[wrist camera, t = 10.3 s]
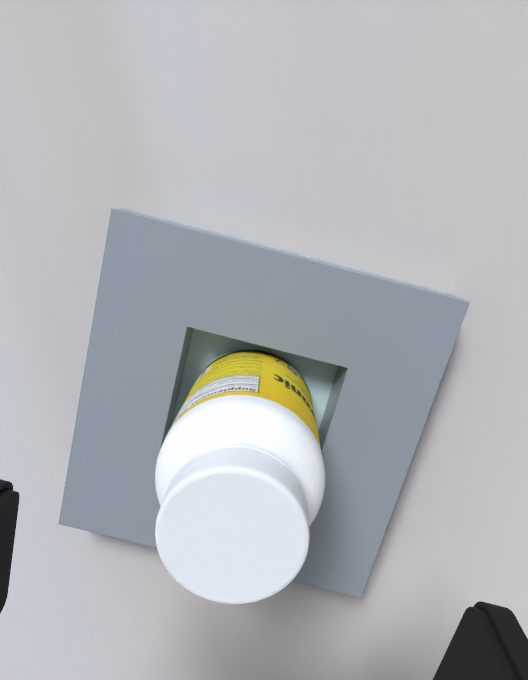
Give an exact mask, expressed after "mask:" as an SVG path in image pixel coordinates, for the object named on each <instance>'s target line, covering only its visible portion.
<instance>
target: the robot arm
mask: <svg viewBox="0 0 528 680" xmlns="http://www.w3.org/2000/svg"><path fill="white" fill-rule="evenodd" d="M18 505H19V493H18V492H16V491H13V485H12V483H11V482H8V481H4V480H0V613H1V611H2V609H3V607H4V604H5V602H6V599H7V594H8V586H9V578H10V569H11V561H12V553H13V545H14V537H15V529H16V521H17V513H18ZM433 680H528V639H527V637H526V635H525V634H524V632H523V630H522V628H521V626H520V624H519V623H518V621H517V619H516V617H515V615H514V614H513V613H512V611H511V610H509V609H508V608H505V607H501V606H497V605H493V604H489V603H485V602H478V603H476V604H475V606H474V607H469V608H467V609H466V611H465V613H464V615H463V617H462V619H461V621H460V623H459V625H458V627H457V630H456V632H455V634H454V636H453V638H452V640H451V642H450V644H449V647H448V649H447V651H446V653H445V655H444V657H443V659H442V661H441V664H440V666H439V668H438V670H437V672H436V674H435V676H434V678H433Z"/></svg>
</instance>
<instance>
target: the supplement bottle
mask: <svg viewBox="0 0 528 680" xmlns="http://www.w3.org/2000/svg"><path fill="white" fill-rule="evenodd" d="M155 487H156V492H157V497H158V500H159V504H160V506H161V507H160V509H159V512H158V515H157V519H156V527H155V538H156V545H157V549H158V553H159V556H160V558H161V560H162V562H163V564H164V566H165V568H166V569H167V570H168V572H169V573H170V574H171V576H172V577H173V578H174V579H175V580H176V581H177V582H178V583H179V584H181V585H182V586H183V587H184V588H185V589H187V590H189V591H190V592H192V593H194V594H195V595H197V596H200V597H202V598H205V599H207V600H210V601H214V602H219V603H225V604H244V603H252V602H256V601H260V600H262V599H265V598H268V597H270V596H272V595H274V594H276V593H277V592H279V591H280V590H282V589H283V588H284V587H286V586H287V585H288V584H289V583H290V582H291V581H292V580H293V579H294V578H295V576H296V575H297V574H298V573H299V571H300V569H301V567H302V566H303V564H304V562H305V559H306V556H307V553H308V548H309V539H310V531H309V526H310V525H311V524H312V522H313V520H314V519H315V517H316V515H317V513H318V511H319V509H320V506H321V503H322V500H323V496H324V490H325V466H324V459H323V454H322V448H321V445H320V440H319V435H318V430H317V424H316V419H315V414H314V409H313V404H312V399H311V395H310V391H309V388H308V386H307V383H306V381H305V379H304V377H303V376H302V374H301V373H300V372H299V370H298V369H297V368H296V367H295V366H294V365H293V364H292V363H291V362H289V361H288V360H287V359H285V358H284V357H282V356H281V355H279V354H276V353H274V352H272V351H268V350H265V349H258V348H243V349H237V350H233V351H230V352H228V353H225V354H223V355H221V356H219V357H218V358H216V359H215V360H213V361H212V362H211V363H210V364H208V365H207V367H206V368H205V369H204V370H203V371H202V372H201V374H200V375H199V377H198V378H197V380H196V382H195V383H194V385H193V387H192V389H191V391H190V393H189V395H188V397H187V399H186V400H185V402H184V404H183V406H182V408H181V410H180V411H179V413H178V415H177V417H176V419H175V421H174V423H173V425H172V427H171V428H170V430H169V432H168V434H167V436H166V438H165V440H164V442H163V444H162V447H161V449H160V452H159V455H158V458H157V463H156V469H155Z"/></svg>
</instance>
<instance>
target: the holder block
mask: <svg viewBox="0 0 528 680" xmlns="http://www.w3.org/2000/svg"><path fill="white" fill-rule="evenodd" d="M469 303H470V302H467V301H465V300H463V299H460V298H458V297H456V296H454V295H451V294H449V293H446V292H442V291H438V290H434V289H431V288H427V287H423V286H419V285H415V284H412V283H408V282H404V281H400V280H396V279H393V278H389V277H385V276H381V275H377V274H373V273H370V272H366V271H362V270H358V269H354V268H351V267H347V266H343V265H339V264H335V263H332V262H328V261H324V260H320V259H316V258H313V257H309V256H305V255H301V254H297V253H293V252H290V251H286V250H282V249H278V248H274V247H271V246H267V245H263V244H259V243H255V242H252V241H248V240H244V239H240V238H236V237H232V236H229V235H225V234H221V233H217V232H213V231H210V230H206V229H202V228H198V227H194V226H191V225H187V224H183V223H179V222H175V221H172V220H168V219H164V218H160V217H156V216H152V215H149V214H145V213H141V212H137V211H133V210H123V209H111V215H110V221H109V227H108V233H107V239H106V245H105V251H104V257H103V263H102V269H101V275H100V280H99V286H98V292H97V298H96V304H95V310H94V316H93V322H92V328H91V334H90V340H89V346H88V352H87V358H86V364H85V370H84V376H83V382H82V388H81V393H80V399H79V405H78V411H77V417H76V423H75V429H74V435H73V441H72V447H71V453H70V459H69V465H68V471H67V477H66V483H65V489H64V495H63V501H62V506H61V512H60V518H59V524H61V525H65V526H69V527H73V528H77V529H81V530H86V531H90V532H94V533H98V534H102V535H106V536H110V537H114V538H118V539H122V540H126V541H130V542H134V543H139V544H143V545H147V546H151V547H155V548H157V545H156V538H155V527H156V519H157V515H158V512H159V509H160V507H161V506H160V504H159V500H158V497H157V492H156V487H155V469H156V463H157V458H158V455H159V452H160V449H161V447H162V444H163V442H164V440H165V438H166V436H167V434H168V432H169V430H170V428H171V427H172V425H173V423H174V421H175V419H176V417H177V415H178V413H179V411H180V410H181V408H182V406H183V404H184V402H185V400H186V399H187V397H188V395H189V393H190V391H191V389H192V387H193V385H194V383H195V382H196V380H197V378H198V377H199V375H200V374H201V372H202V371H203V370H204V369H205V368H206V367H207V365H208V364H210V363H211V362H212V361H213V360H215V359H216V358H218V357H219V356H221V355H223V354H225V353H228V352H230V351H233V350H237V349H243V348H258V349H265V350H268V351H272V352H274V353H276V354H279V355H281V356H282V357H284V358H285V359H287V360H288V361H289V362H291V363H292V364H293V365H294V366H295V367H296V368H297V369H298V370H299V372H300V373H301V374H302V376H303V377H304V379H305V381H306V383H307V386H308V388H309V391H310V395H311V399H312V404H313V409H314V414H315V419H316V424H317V430H318V435H319V440H320V445H321V448H322V454H323V459H324V466H325V490H324V496H323V500H322V503H321V506H320V509H319V511H318V513H317V515H316V517H315V519H314V520H313V522H312V524H311V525H310V526H309V531H310V539H309V548H308V553H307V556H306V559H305V562H304V564H303V566H302V567H301V569H300V571H299V573H298V574H297V575H296V576H295V578H294V579H293V580H292V581H293V582H297V583H302V584H306V585H310V586H314V587H318V588H322V589H326V590H330V591H334V592H338V593H342V594H346V595H350V596H355V597H359V598H361V596H362V593H363V590H364V588H365V585H366V582H367V580H368V577H369V574H370V571H371V569H372V566H373V563H374V561H375V558H376V555H377V552H378V550H379V547H380V544H381V542H382V539H383V536H384V533H385V531H386V528H387V525H388V523H389V520H390V517H391V515H392V512H393V509H394V506H395V504H396V501H397V498H398V496H399V493H400V490H401V487H402V485H403V482H404V479H405V477H406V474H407V471H408V468H409V466H410V463H411V460H412V458H413V455H414V452H415V449H416V447H417V444H418V441H419V439H420V436H421V433H422V431H423V428H424V425H425V422H426V420H427V417H428V414H429V412H430V409H431V406H432V403H433V401H434V398H435V395H436V393H437V390H438V387H439V384H440V382H441V379H442V376H443V374H444V371H445V368H446V365H447V363H448V360H449V357H450V355H451V352H452V349H453V347H454V344H455V341H456V338H457V336H458V333H459V330H460V328H461V325H462V322H463V319H464V317H465V314H466V311H467V309H468V306H469Z"/></svg>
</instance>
